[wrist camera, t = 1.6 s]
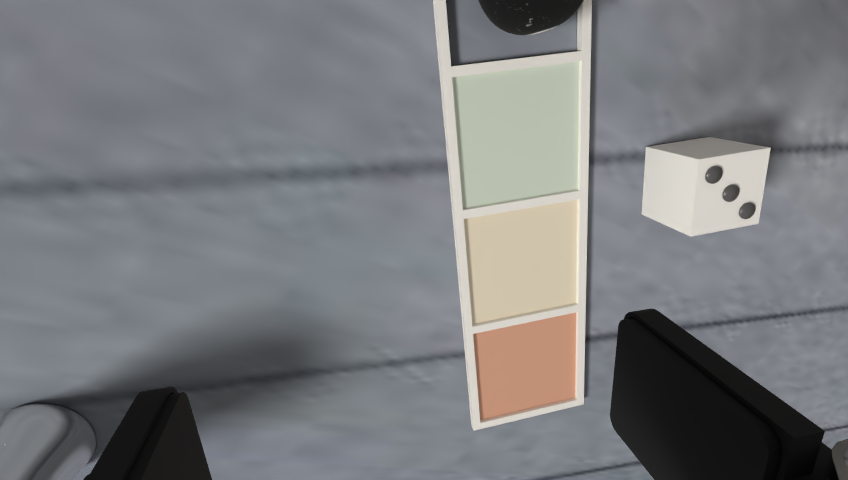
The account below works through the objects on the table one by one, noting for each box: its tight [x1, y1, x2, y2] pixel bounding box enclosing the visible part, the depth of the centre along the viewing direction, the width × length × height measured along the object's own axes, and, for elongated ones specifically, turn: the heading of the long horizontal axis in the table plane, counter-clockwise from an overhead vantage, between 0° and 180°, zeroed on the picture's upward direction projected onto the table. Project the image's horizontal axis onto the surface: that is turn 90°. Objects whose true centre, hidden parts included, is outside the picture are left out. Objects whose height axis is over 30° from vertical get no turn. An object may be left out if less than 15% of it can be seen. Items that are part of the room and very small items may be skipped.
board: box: [433, 0, 592, 430], centre depth 32 cm, size 37×10×1 cm, turn 6°
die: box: [642, 137, 771, 236], centre depth 31 cm, size 5×5×5 cm
